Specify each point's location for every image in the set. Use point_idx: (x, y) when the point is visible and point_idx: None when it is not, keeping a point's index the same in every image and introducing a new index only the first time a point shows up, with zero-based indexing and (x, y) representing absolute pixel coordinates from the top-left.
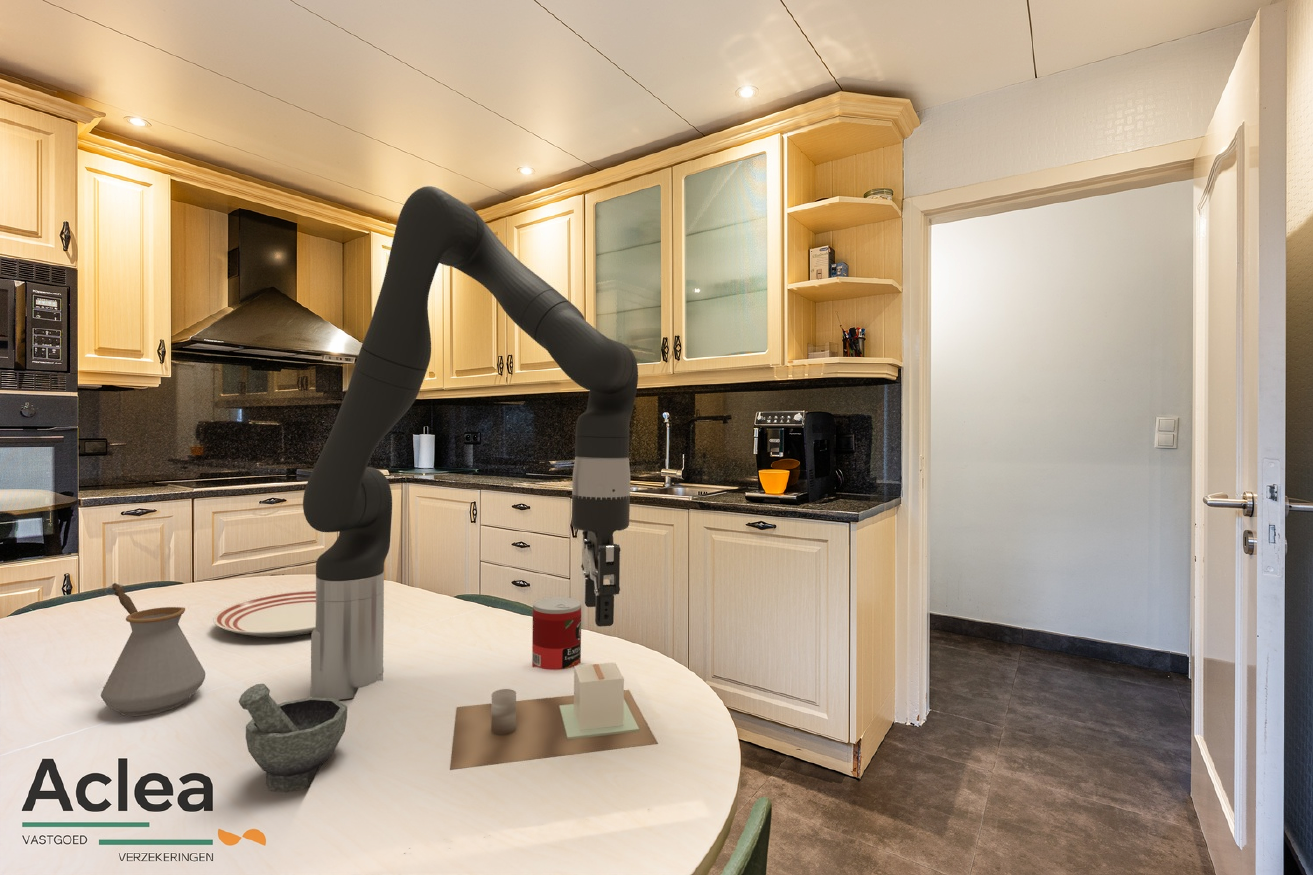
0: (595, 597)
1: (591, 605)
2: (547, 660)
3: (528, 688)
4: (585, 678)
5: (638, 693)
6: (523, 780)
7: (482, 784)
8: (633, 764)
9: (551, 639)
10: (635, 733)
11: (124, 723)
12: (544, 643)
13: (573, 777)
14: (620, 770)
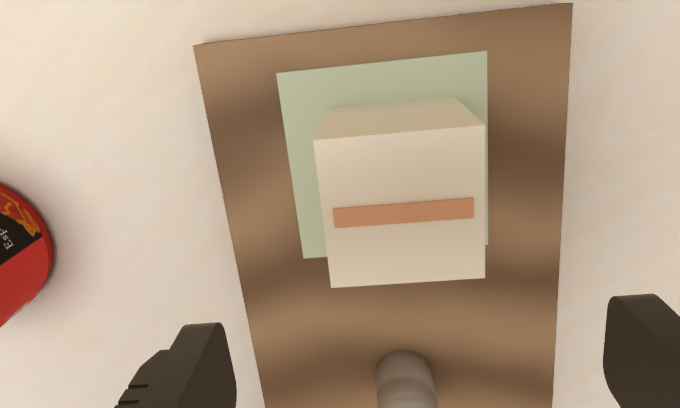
0: (210, 386)
1: (228, 372)
2: (24, 294)
3: (124, 311)
4: (453, 259)
5: (154, 3)
6: (572, 314)
7: (563, 380)
8: (581, 77)
9: None
10: (495, 63)
11: None
12: None
13: (594, 220)
14: (599, 113)
